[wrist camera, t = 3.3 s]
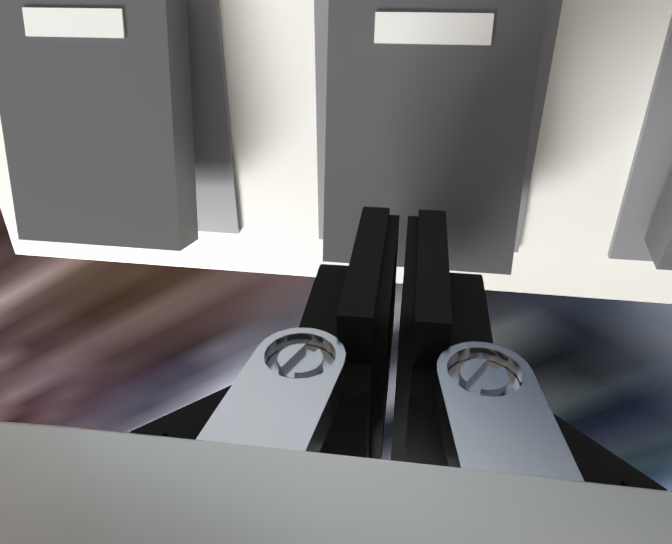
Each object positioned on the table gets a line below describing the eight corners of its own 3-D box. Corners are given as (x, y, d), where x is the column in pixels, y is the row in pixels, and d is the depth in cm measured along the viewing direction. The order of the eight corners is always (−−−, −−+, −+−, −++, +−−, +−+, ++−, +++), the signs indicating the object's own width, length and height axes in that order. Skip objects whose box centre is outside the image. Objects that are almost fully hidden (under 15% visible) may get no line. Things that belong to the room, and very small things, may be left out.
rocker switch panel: (1292, -120, 13) (1636, -147, 9) (1026, 265, 18) (1179, 348, 14) (5, -101, 17) (-113, -113, 13) (80, 206, 22) (9, 258, 18)
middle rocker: (537, -5, 12) (549, -15, 11) (503, 260, 14) (510, 275, 13) (337, -7, 13) (328, -15, 12) (330, 248, 15) (322, 261, 14)
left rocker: (186, -7, 13) (163, -17, 12) (198, 239, 15) (179, 252, 14) (16, -9, 14) (-22, -18, 13) (47, 228, 16) (17, 239, 15)
